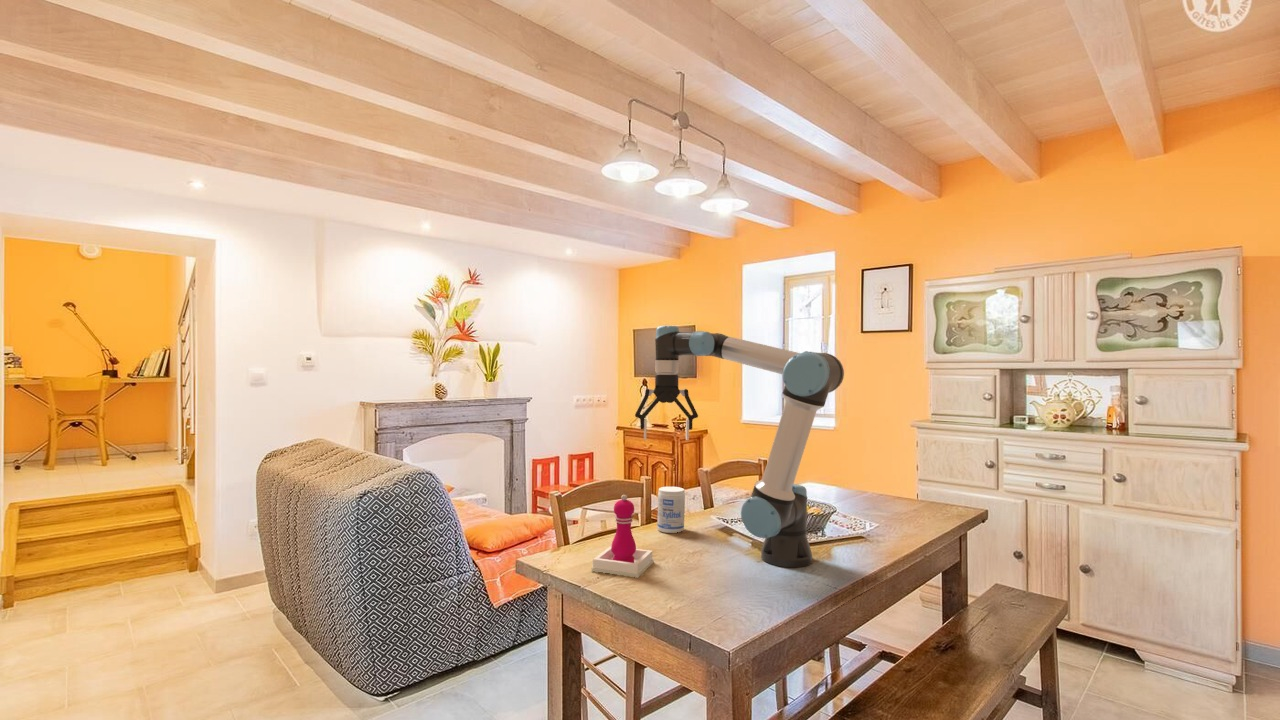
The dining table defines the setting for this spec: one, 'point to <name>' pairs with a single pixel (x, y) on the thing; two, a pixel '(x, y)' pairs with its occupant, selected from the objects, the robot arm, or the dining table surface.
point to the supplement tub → (671, 509)
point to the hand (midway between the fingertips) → (666, 439)
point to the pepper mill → (623, 531)
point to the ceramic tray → (623, 563)
